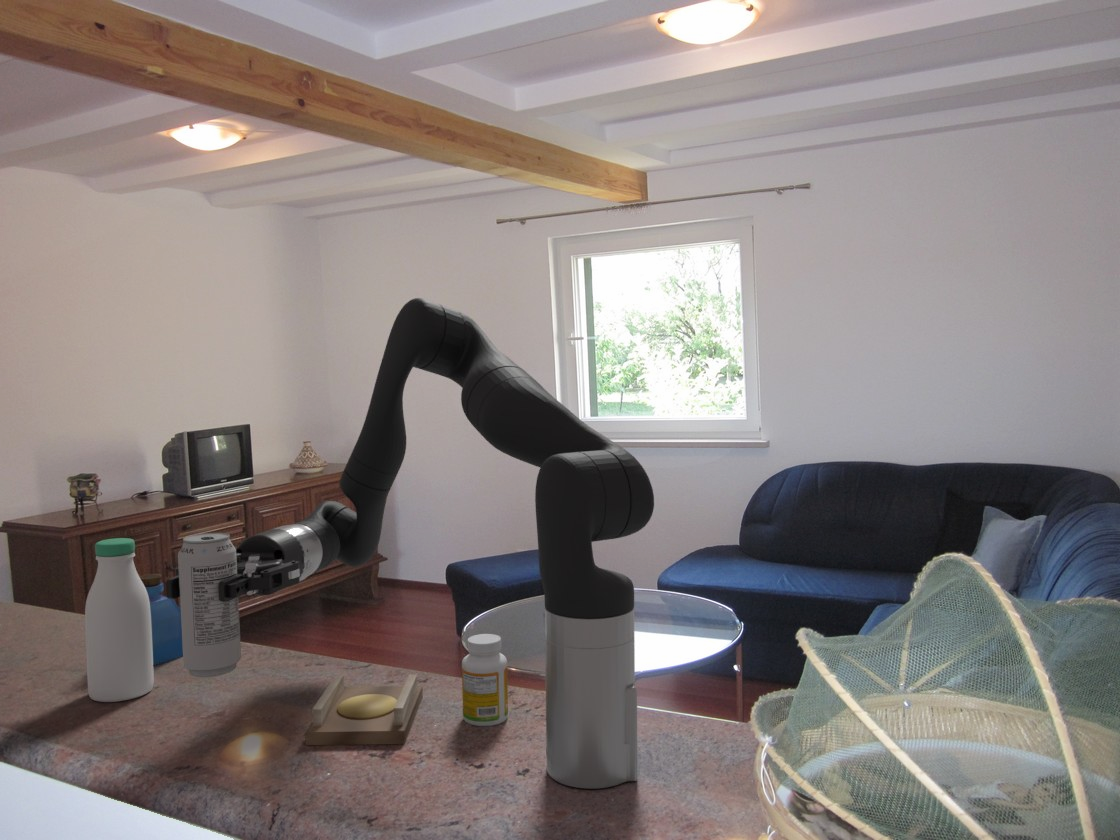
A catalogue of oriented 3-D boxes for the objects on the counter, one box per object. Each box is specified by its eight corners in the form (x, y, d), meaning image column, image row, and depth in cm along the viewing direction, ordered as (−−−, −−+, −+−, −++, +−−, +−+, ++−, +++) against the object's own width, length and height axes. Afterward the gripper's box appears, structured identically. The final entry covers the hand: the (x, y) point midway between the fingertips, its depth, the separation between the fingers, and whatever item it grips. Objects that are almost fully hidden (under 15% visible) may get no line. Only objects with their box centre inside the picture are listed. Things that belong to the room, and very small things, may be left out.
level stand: (422, 697, 116) (422, 670, 116) (404, 743, 102) (404, 713, 102) (335, 698, 116) (335, 671, 116) (306, 745, 102) (305, 714, 102)
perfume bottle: (185, 655, 134) (182, 574, 133) (146, 667, 128) (142, 583, 128) (159, 648, 137) (156, 569, 136) (120, 660, 132) (117, 578, 131)
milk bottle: (164, 691, 119) (158, 539, 118) (102, 708, 113) (94, 549, 112) (139, 678, 124) (133, 532, 123) (79, 693, 119) (71, 541, 117)
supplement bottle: (485, 706, 113) (483, 629, 112) (517, 716, 109) (516, 637, 109) (453, 719, 109) (451, 639, 108) (486, 731, 105) (484, 648, 105)
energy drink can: (233, 657, 106) (227, 529, 105) (247, 671, 101) (241, 537, 100) (178, 667, 103) (172, 536, 102) (190, 683, 98) (183, 544, 97)
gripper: (228, 527, 117) (136, 554, 101) (330, 529, 113) (251, 559, 97) (231, 584, 117) (140, 621, 101) (332, 589, 114) (255, 628, 98)
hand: (195, 591), depth 99 cm, fingers closed on energy drink can, 6 cm apart
